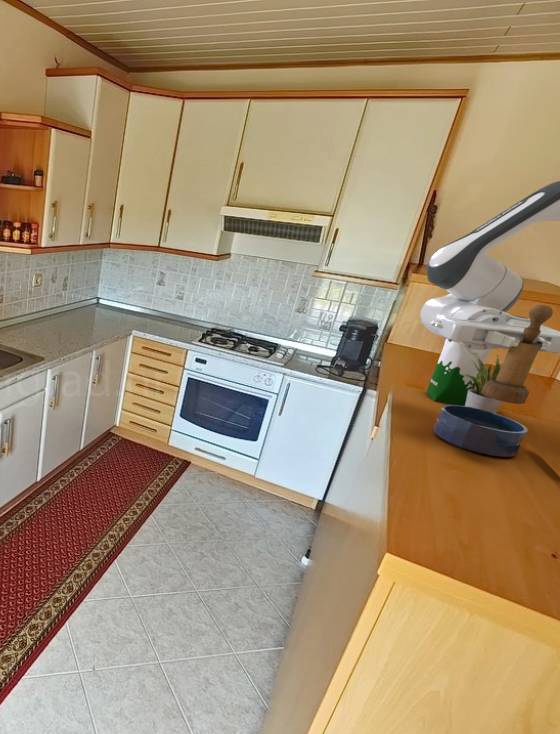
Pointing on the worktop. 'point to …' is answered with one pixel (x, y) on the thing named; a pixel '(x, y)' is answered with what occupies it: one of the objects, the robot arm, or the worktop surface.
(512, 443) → the bowl
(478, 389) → the house plant
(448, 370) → the milk carton
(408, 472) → the worktop surface
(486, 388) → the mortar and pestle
